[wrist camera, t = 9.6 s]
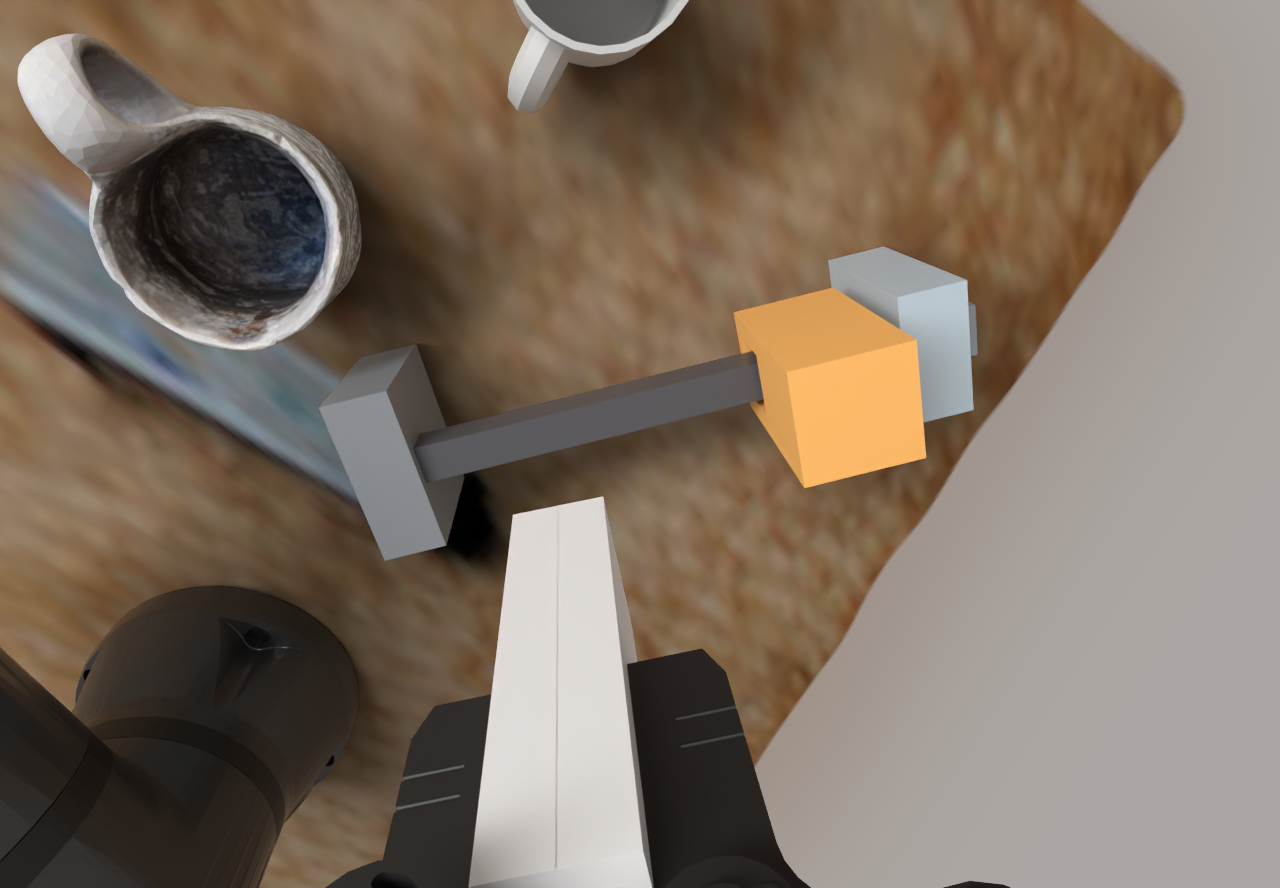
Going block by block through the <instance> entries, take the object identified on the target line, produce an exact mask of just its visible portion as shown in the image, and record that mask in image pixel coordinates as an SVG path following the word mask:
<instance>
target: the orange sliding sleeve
mask: <svg viewBox="0 0 1280 888" xmlns="http://www.w3.org/2000/svg"><path fill="white" fill-rule="evenodd" d="M734 317H735V323H736V328H737V334H738V340H739V345H740V351H741V354H742V353H746V352H750V351H753V352H754V353H755V354H756V357H757V363H758V369H759V374H760V380H761V386H762V392H763V398H764V399H763V400H759V401H755V402H751V403H750V406H751V407H752V409H753V410H754V412H755V413H756V415H757V416H758V418H759V420H760V421H761V423H762V424H763V426H764V427H765V429H766V430H767V432H768V433H769V435H770V436H771V438H772V439H773V441H774V442H775V444H776V445H777V447H778V448H779V450H780V451H781V453H782V455H783V456H784V458H785V459H786V461H787V462H788V464H789V465H790V467H791V468H792V470H793V471H794V473H795V474H796V476H797V477H798V479H799V480H800V482H801V483H802V485H803V486H804V488H807V487H811V486H815V485H819V484H823V483H827V482H831V481H835V480H839V479H843V478H847V477H851V476H855V475H859V474H863V473H867V472H871V471H875V470H880V469H884V468H888V467H892V466H896V465H900V464H904V463H908V462H912V461H916V460H920V459H924V458H926V449H925V437H924V424H923V412H922V399H921V387H920V374H919V362H918V349H917V340H916V339H915V338H913V337H911V336H910V335H908V334H907V333H905V332H903V331H902V330H900V329H899V328H897V327H895V326H894V325H892V324H891V323H889V322H887V321H886V320H884V319H883V318H881V317H880V316H878V315H876V314H875V313H873V312H872V311H870V310H868V309H867V308H865V307H864V306H862V305H860V304H859V303H857V302H856V301H854V300H852V299H851V298H849V297H848V296H846V295H844V294H843V293H841V292H840V291H838V290H836V289H835V288H830V289H826V290H822V291H818V292H814V293H810V294H806V295H802V296H798V297H794V298H790V299H786V300H782V301H778V302H774V303H770V304H766V305H762V306H758V307H753V308H749V309H745V310H741V311H737V312H734Z"/></svg>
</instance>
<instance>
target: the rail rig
mask: <svg viewBox="0 0 1280 888" xmlns="http://www.w3.org/2000/svg"><path fill="white" fill-rule="evenodd" d="M828 263H829V271H830V279H831V287H832V288H835V289H836V290H838V291H840V292H841V293H843V294H844V295H846V296H848V297H849V298H851V299H852V300H854V301H856V302H857V303H859V304H860V305H862V306H864V307H865V308H867V309H868V310H870V311H872V312H873V313H875V314H876V315H878V316H880V317H881V318H883V319H884V320H886V321H887V322H889V323H891V324H892V325H894V326H895V327H897V328H899V329H900V330H902V331H903V332H905V333H907V334H908V335H910V336H911V337H913V338H915V339H916V340H917V349H918V362H919V374H920V387H921V399H922V412H923V422H927V421H931V420H935V419H939V418H943V417H947V416H951V415H956V414H960V413H964V412H968V411H972V410H973V390H972V370H971V356H975V355H978V351H977V329H976V307H975V304H973V303H970V302H968V290H967V280H966V279H963V278H961V277H958V276H956V275H953V274H951V273H948V272H946V271H943V270H941V269H938V268H936V267H933V266H931V265H928V264H926V263H923V262H921V261H918V260H916V259H913V258H911V257H908V256H906V255H903V254H901V253H899V252H896V251H894V250H891V249H889V248H886V247H880V248H876V249H872V250H868V251H864V252H860V253H856V254H852V255H848V256H843V257H839V258H835V259H831V260H828ZM763 399H764V398H763V392H762V386H761V380H760V374H759V369H758V363H757V357H756V354H755V353H754V352H753V351H750V352H746V353H742V354H738V355H734V356H730V357H726V358H722V359H718V360H714V361H710V362H706V363H702V364H698V365H694V366H690V367H686V368H682V369H678V370H674V371H670V372H666V373H662V374H658V375H654V376H650V377H646V378H642V379H638V380H634V381H630V382H626V383H622V384H618V385H614V386H610V387H606V388H602V389H598V390H594V391H590V392H586V393H582V394H578V395H574V396H570V397H566V398H562V399H558V400H554V401H550V402H546V403H542V404H538V405H534V406H530V407H526V408H522V409H518V410H514V411H510V412H505V413H501V414H497V415H493V416H489V417H485V418H481V419H477V420H473V421H469V422H465V423H461V424H457V425H453V426H449V427H446V425H445V422H444V419H443V416H442V414H441V411H440V408H439V405H438V403H437V400H436V397H435V394H434V392H433V389H432V386H431V383H430V381H429V378H428V375H427V372H426V369H425V367H424V364H423V361H422V358H421V356H420V353H419V350H418V347H417V345H416V344H412V345H408V346H404V347H400V348H396V349H392V350H388V351H384V352H380V353H376V354H372V355H368V356H364V357H360V359H359V360H358V361H357V362H356V363H355V365H354V366H353V367H352V368H351V369H350V371H349V372H348V373H347V374H346V375H345V377H344V378H343V379H342V380H341V381H340V383H339V384H338V385H337V386H336V387H335V389H334V390H333V391H332V392H331V393H330V395H329V396H328V397H327V398H326V399H325V401H324V402H323V403H322V404H321V405H320V407H319V410H320V412H321V414H322V417H323V419H324V421H325V424H326V426H327V428H328V431H329V433H330V435H331V437H332V440H333V442H334V444H335V447H336V449H337V451H338V454H339V456H340V458H341V461H342V463H343V465H344V468H345V470H346V472H347V474H348V477H349V479H350V481H351V484H352V486H353V488H354V491H355V493H356V495H357V498H358V500H359V502H360V505H361V507H362V509H363V511H364V514H365V516H366V518H367V521H368V523H369V525H370V528H371V530H372V532H373V535H374V537H375V539H376V542H377V544H378V546H379V548H380V551H381V553H382V555H383V558H384V560H385V561H386V560H390V559H394V558H398V557H402V556H406V555H410V554H414V553H418V552H422V551H426V550H430V549H434V548H438V547H442V546H446V544H447V541H448V537H449V533H450V529H451V526H452V522H453V518H454V514H455V511H456V507H457V503H458V499H459V496H460V492H461V488H462V484H463V481H464V474H465V473H469V472H473V471H477V470H481V469H485V468H489V467H493V466H497V465H501V464H505V463H509V462H513V461H517V460H521V459H526V458H530V457H534V456H538V455H542V454H546V453H550V452H554V451H558V450H562V449H566V448H570V447H574V446H578V445H582V444H586V443H590V442H594V441H598V440H602V439H606V438H610V437H614V436H618V435H622V434H626V433H630V432H634V431H638V430H642V429H646V428H650V427H654V426H658V425H662V424H666V423H670V422H674V421H678V420H682V419H686V418H690V417H694V416H698V415H702V414H706V413H710V412H714V411H718V410H722V409H726V408H730V407H734V406H738V405H742V404H746V403H751V402H755V401H759V400H763Z"/></svg>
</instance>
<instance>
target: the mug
mask: <svg viewBox="0 0 1280 888" xmlns="http://www.w3.org/2000/svg"><path fill="white" fill-rule="evenodd" d="M18 86H19V89H20V92H21V95H22V97H23V99H24V102H25V104H26V106H27V108H28V109H29V111H30V113H31V114H32V116H33V118H34V119H35V121H36V122H37V124H38V125H39V127H40V128H41V129H42V131H43V132H44V134H45V135H46V136H47V138H48V139H49V140H50V141H51V142H52V143H53V144H54V145H55V146H56V148H57V149H58V150H59V151H60V152H61V153H62V154H63V155H64V156H65V157H66V158H68V159H69V160H70V161H71V162H72V163H74V164H75V165H76V166H78V167H79V168H81V169H82V170H83V171H84V172H85V173H86V174H87V175H88V176H89V177H90V179H91V180H92V181H93V185H92V190H91V197H90V208H89V226H90V233H91V235H92V238H93V241H94V243H95V246H96V248H97V251H98V253H99V256H100V258H101V260H102V263H103V265H104V267H105V268H106V270H107V271H108V273H109V275H110V276H111V278H112V279H113V280H114V281H115V282H116V283H118V284H119V285H120V286H121V287H122V288H123V289H124V291H125V293H126V295H127V297H128V298H129V299H130V300H131V301H132V303H133V304H134V305H135V306H136V307H137V308H138V309H139V310H141V311H142V312H144V313H145V314H147V315H148V316H150V317H151V318H152V319H154V320H156V321H157V322H159V323H160V324H162V325H164V326H165V327H167V328H169V329H171V330H173V331H174V332H176V333H178V334H180V335H181V336H183V337H185V338H186V339H188V340H190V341H193V342H197V343H200V344H204V345H209V346H213V347H218V348H223V349H229V350H242V351H251V350H258V349H265V348H268V347H270V346H273V345H275V344H276V343H278V342H280V341H283V340H286V339H288V338H290V337H292V336H294V335H295V334H297V333H299V332H301V331H302V330H304V329H306V328H307V327H308V326H309V325H310V324H311V323H312V322H313V321H314V320H315V319H316V318H317V317H318V316H319V315H320V313H321V312H322V310H323V309H324V308H325V307H326V306H327V305H328V304H330V303H331V302H332V301H333V300H334V299H335V298H336V297H337V295H338V294H339V293H340V292H341V291H342V290H343V289H344V287H345V286H346V285H347V284H348V282H349V280H350V278H351V277H352V275H353V273H354V271H355V269H356V266H357V263H358V260H359V257H360V253H361V246H362V235H361V223H360V213H359V206H358V201H357V197H356V194H355V191H354V188H353V184H352V182H351V180H350V179H349V177H348V175H347V172H346V170H345V169H344V167H343V166H342V164H341V162H340V161H339V159H338V158H337V157H336V156H335V155H334V154H333V153H332V152H331V151H330V150H329V149H328V148H327V147H326V146H325V145H324V144H323V143H322V142H321V141H320V140H318V139H317V138H316V137H314V136H313V135H312V134H310V133H308V132H306V131H305V130H303V129H301V128H299V127H297V126H295V125H293V124H291V123H289V122H287V121H285V120H283V119H281V118H279V117H277V116H275V115H272V114H267V113H265V112H262V111H257V110H250V109H241V108H232V107H198V106H195V105H192V104H189V103H186V102H184V101H183V100H182V99H180V98H179V97H178V96H176V95H175V94H173V93H172V92H171V91H170V90H168V89H167V88H166V87H164V86H163V85H162V84H161V83H159V82H158V81H157V80H156V79H154V78H153V77H152V76H151V75H150V74H148V73H147V72H146V71H145V70H143V69H142V68H141V67H139V66H138V65H137V64H135V63H134V62H132V61H131V60H130V59H128V58H127V57H125V56H124V55H123V54H121V53H120V52H118V51H117V50H115V49H114V48H112V47H111V46H109V45H108V44H106V43H105V42H103V41H101V40H99V39H96V38H93V37H91V36H88V35H85V34H66V35H61V36H57V37H54V38H50V39H47V40H45V41H44V42H42V43H40V44H39V45H37V46H35V47H34V48H33V49H32V50H31V51H30V52H28V53H27V54H26V55H25V56H24V58H23V60H22V61H21V63H20V65H19V68H18Z"/></svg>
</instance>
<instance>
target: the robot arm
mask: <svg viewBox="0 0 1280 888" xmlns="http://www.w3.org/2000/svg"><path fill="white" fill-rule="evenodd" d="M358 702H359V689H358V682H357V678H356V674H355V671H354V668H353V666H352V663H351V661H350V659H349V657H348V656H347V654H346V652H345V651H344V649H343V648H342V646H341V645H340V644H339V642H338V641H337V640H336V639H335V638H334V636H333V635H332V634H331V633H330V632H329V631H328V630H327V629H326V628H325V627H323V626H322V625H321V624H320V623H319V622H317V621H316V620H315V619H313V618H312V617H311V616H309V615H308V614H306V613H305V612H303V611H301V610H300V609H298V608H296V607H294V606H292V605H290V604H288V603H286V602H284V601H281V600H279V599H276V598H274V597H271V596H268V595H265V594H261V593H258V592H254V591H249V590H244V589H238V588H230V587H195V588H188V589H182V590H177V591H173V592H169V593H166V594H163V595H160V596H157V597H155V598H152V599H150V600H148V601H146V602H144V603H142V604H140V605H139V606H137V607H136V608H134V609H133V610H131V611H130V612H129V613H127V614H126V615H125V616H124V617H123V618H122V619H121V620H120V621H119V622H118V623H117V624H116V625H115V626H114V627H113V628H112V629H111V631H110V632H109V633H108V634H107V635H106V636H105V638H104V639H103V640H102V641H101V642H100V643H99V644H98V646H97V647H96V648H95V650H94V651H93V652H92V654H91V655H90V657H89V659H88V661H87V662H86V664H85V666H84V668H83V671H82V673H81V676H80V680H79V683H78V687H77V692H76V705H75V707H74V709H73V711H72V712H70V711H69V710H68V709H67V708H66V707H65V706H64V705H63V704H61V703H60V702H59V701H58V700H57V699H56V698H55V697H54V696H53V695H52V694H51V693H49V692H48V691H47V690H46V689H45V688H44V687H43V686H42V685H41V684H40V683H39V682H37V681H36V680H35V679H34V678H33V677H32V676H31V675H30V674H29V673H28V672H27V671H26V670H24V669H23V668H22V667H21V666H20V665H19V664H18V663H17V662H16V661H15V660H14V659H12V658H11V657H10V656H9V655H8V654H7V653H6V652H5V651H4V650H3V649H2V648H0V888H259V887H260V884H261V882H262V879H263V876H264V874H265V871H266V868H267V866H268V863H269V860H270V858H271V855H272V852H273V850H274V847H275V844H276V842H277V839H278V837H279V834H280V832H281V829H282V827H283V824H284V823H285V822H286V821H287V820H288V819H289V817H290V816H291V815H292V814H293V813H294V812H295V810H296V809H297V808H298V807H299V806H300V805H301V803H302V802H303V801H304V800H305V798H306V797H307V796H308V794H309V793H310V791H311V790H312V788H313V787H314V786H315V785H316V784H317V783H318V782H320V781H321V780H322V779H323V778H324V776H325V775H326V774H327V773H328V772H329V771H330V770H331V769H332V767H333V766H334V765H335V763H336V762H337V760H338V759H339V757H340V755H341V754H342V752H343V750H344V748H345V746H346V743H347V741H348V738H349V735H350V732H351V729H352V726H353V723H354V720H355V718H356V714H357V710H358ZM403 777H404V782H401V786H400V790H399V794H398V798H397V802H396V813H394V815H393V819H392V823H391V827H390V832H389V836H388V840H387V844H386V848H385V852H384V857H383V860H380V861H376V862H373V863H370V864H368V865H365V866H362V867H360V868H357V869H354V870H352V871H349V872H347V873H346V874H344V875H343V876H341V877H340V878H339V879H337V880H336V881H334V882H333V883H331V884H330V885H329V886H327V887H326V888H811V887H809V886H808V885H807V884H806V883H804V882H803V881H802V880H801V879H799V878H798V877H797V876H796V874H795V873H794V872H793V870H792V869H791V868H790V867H789V865H788V864H787V863H786V862H785V860H784V858H783V856H782V854H781V851H780V849H779V847H778V845H777V842H776V839H775V836H774V833H773V829H772V826H771V822H770V819H769V816H768V812H767V809H766V806H765V802H764V799H763V796H762V792H761V789H760V785H759V782H758V779H757V775H756V772H755V769H754V765H753V762H752V759H751V755H750V752H749V749H748V745H747V742H746V738H745V737H744V733H743V728H742V725H741V722H740V718H739V715H738V712H737V710H736V706H735V701H734V698H733V695H732V691H731V688H730V685H729V681H728V678H727V675H726V672H725V671H724V670H723V669H722V668H721V667H720V666H719V665H718V664H717V663H716V662H715V661H714V660H713V659H712V658H711V657H710V656H709V655H708V654H707V653H706V652H705V651H704V650H703V649H698V650H693V651H688V652H683V653H678V654H673V655H669V656H664V657H659V658H654V659H649V660H644V661H639V662H637V657H636V650H635V643H634V636H633V629H632V625H631V620H630V616H629V611H628V607H627V602H626V598H625V593H624V588H623V584H622V579H621V575H620V570H619V566H618V561H617V557H616V552H615V548H614V543H613V539H612V534H611V530H610V525H609V521H608V516H607V511H606V507H605V502H604V498H603V497H598V498H593V499H588V500H583V501H578V502H573V503H569V504H564V505H559V506H554V507H549V508H544V509H539V510H534V511H529V512H524V513H519V514H514V515H513V519H512V527H511V535H510V544H509V552H508V561H507V569H506V577H505V586H504V594H503V602H502V611H501V619H500V628H499V636H498V644H497V653H496V661H495V669H494V678H493V686H492V694H491V695H487V696H482V697H477V698H472V699H467V700H463V701H458V702H453V703H448V704H443V705H438V706H434V708H433V709H432V711H431V712H430V714H429V715H428V716H427V718H426V719H425V721H424V722H423V724H422V725H421V727H420V728H419V730H418V731H417V732H416V734H415V735H414V737H413V738H412V740H411V744H410V748H409V752H408V756H407V760H406V765H405V769H404V773H403ZM944 888H1010V887H1008V886H1005V885H1001V884H992V883H984V882H974V881H968V882H964V883H960V884H956V885H952V886H949V887H944Z"/></svg>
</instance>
